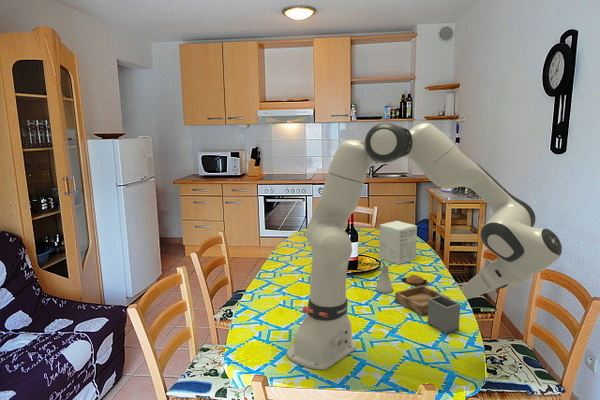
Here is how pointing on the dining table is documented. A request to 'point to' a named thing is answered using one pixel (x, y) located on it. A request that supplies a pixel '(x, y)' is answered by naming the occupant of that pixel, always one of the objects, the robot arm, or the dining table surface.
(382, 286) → the flask
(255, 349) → the dining table surface
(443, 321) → the small crate
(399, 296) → the tray
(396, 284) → the dining table surface
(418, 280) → the bread roll
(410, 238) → the supplement box
